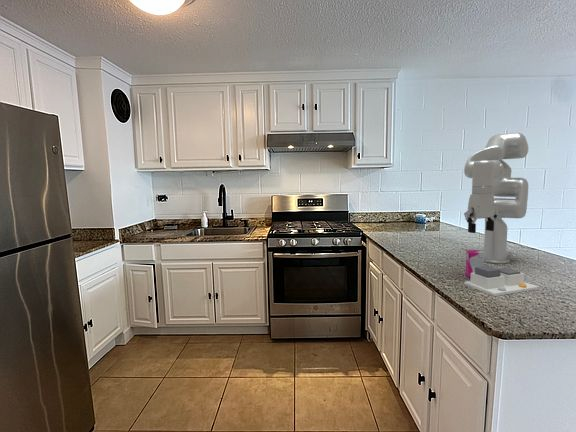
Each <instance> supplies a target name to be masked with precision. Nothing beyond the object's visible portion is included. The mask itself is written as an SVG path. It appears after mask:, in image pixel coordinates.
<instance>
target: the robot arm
mask: <svg viewBox="0 0 576 432" xmlns="http://www.w3.org/2000/svg"><path fill="white" fill-rule="evenodd" d="M528 153H529V144H528V141H527V138H526V136H525V135H524V134H523V133H522V132H510V133H501V134H494V135H493V136H491V137H489V139H488V142H487V143H486V146H485V148H483V149H481V150H478V151H477V152H475V153H473V154H472V155H469V157H468V158H467V160H466V162H465V165H464V169H463V170H464V171H463V173H464V175H465V177H467V178H469V179H472V180H471V194H470V196H469V199H468V205H467V211H465V212H463V215H464V217H465V219H464V220H466V223H467V232H468V233H471V234H476V232H477V227H476V226H477V224H476V221H477V220H478V219H480V220H481V219H484V237H483V239H484V240H483V241H484V242H483V253H484V263H485V262H486V263H490V264H502V265H503V264H508V263H510V262H511V261H510V259H509V258H508V257H512V256H514V253H513V252H512V251H509V252H508V251H507V247H508V246H507V245H508V225H507V223H506V222H505V221H504V219H522V218H524V217H525V216H526V214H527V209H528V198H529V182H528V180H527V179H526V178H524V177H512V168H511V166H510V165H509V164H508V163H507V162H506V161H504V160H516V159H517V160H518V159H524V158H526V156H528Z"/></svg>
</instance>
